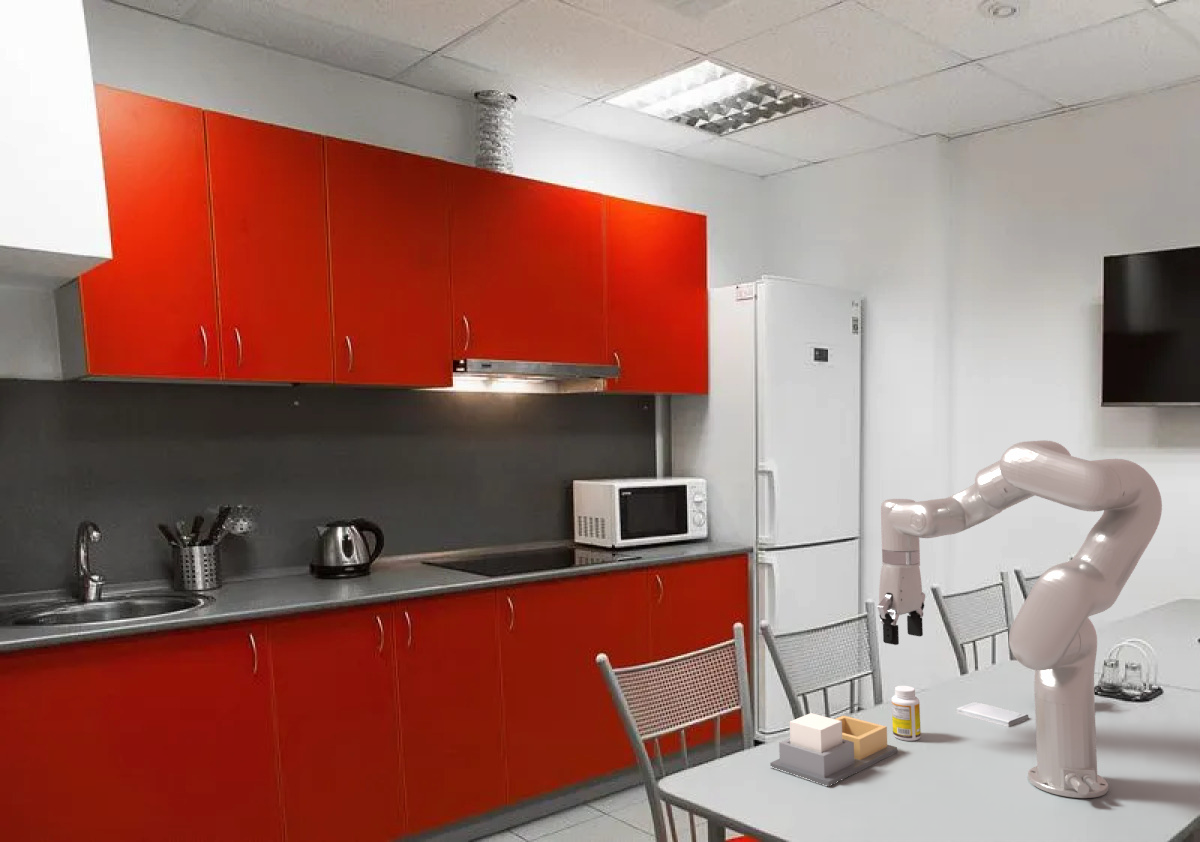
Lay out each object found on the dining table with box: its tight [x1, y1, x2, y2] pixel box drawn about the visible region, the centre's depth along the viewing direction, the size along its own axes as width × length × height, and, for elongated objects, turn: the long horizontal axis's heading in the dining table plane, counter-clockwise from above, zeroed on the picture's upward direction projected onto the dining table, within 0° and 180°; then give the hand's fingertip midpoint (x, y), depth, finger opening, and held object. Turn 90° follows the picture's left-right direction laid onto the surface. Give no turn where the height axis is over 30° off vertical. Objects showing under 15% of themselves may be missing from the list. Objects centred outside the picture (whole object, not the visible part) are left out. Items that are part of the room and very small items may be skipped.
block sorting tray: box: [770, 712, 898, 787], centre depth 169 cm, size 24×13×9 cm, turn 132°
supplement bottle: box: [891, 685, 922, 742], centre depth 180 cm, size 6×6×10 cm
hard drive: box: [955, 701, 1029, 728], centre depth 192 cm, size 2×8×12 cm
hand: (903, 639), depth 181 cm, fingers open, 9 cm apart
